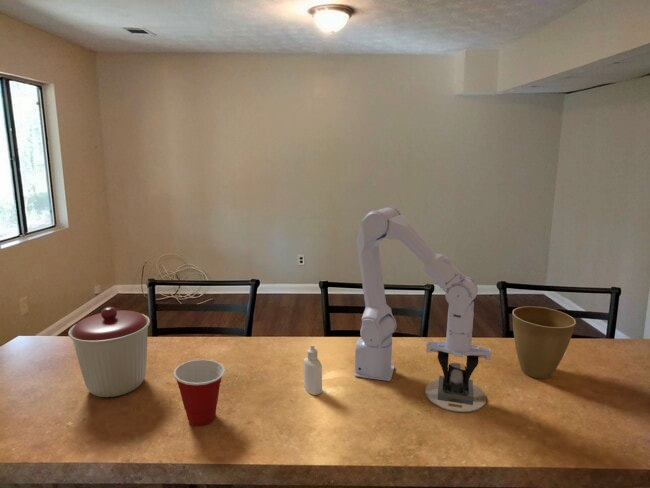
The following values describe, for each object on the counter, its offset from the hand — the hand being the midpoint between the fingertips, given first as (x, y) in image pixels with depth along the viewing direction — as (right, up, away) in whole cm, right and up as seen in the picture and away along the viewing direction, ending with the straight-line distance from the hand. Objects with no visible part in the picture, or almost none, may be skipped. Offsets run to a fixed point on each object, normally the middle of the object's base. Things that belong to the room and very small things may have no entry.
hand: (455, 382), depth 108 cm
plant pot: (+25, -1, +12) cm, 28 cm away
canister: (-84, -3, +5) cm, 84 cm away
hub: (0, -4, +1) cm, 4 cm away
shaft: (0, -2, +1) cm, 2 cm away
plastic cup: (-59, -6, -8) cm, 60 cm away
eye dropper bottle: (-35, -3, +4) cm, 35 cm away
